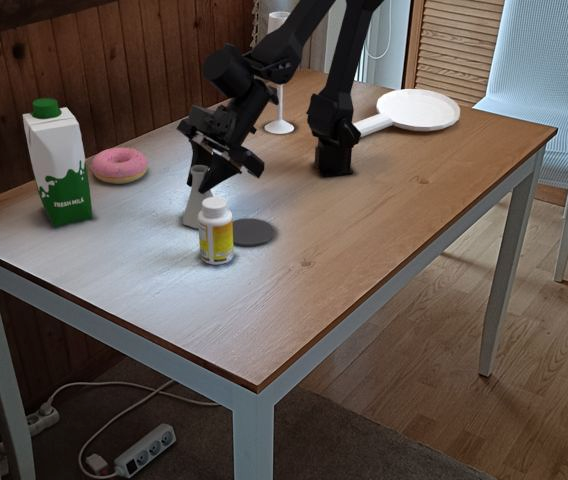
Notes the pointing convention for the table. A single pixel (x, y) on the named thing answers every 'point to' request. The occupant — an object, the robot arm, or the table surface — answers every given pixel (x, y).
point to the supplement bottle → (215, 231)
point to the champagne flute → (277, 125)
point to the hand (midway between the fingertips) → (194, 189)
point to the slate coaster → (251, 232)
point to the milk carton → (58, 162)
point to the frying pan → (411, 112)
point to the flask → (195, 196)
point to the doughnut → (119, 165)
